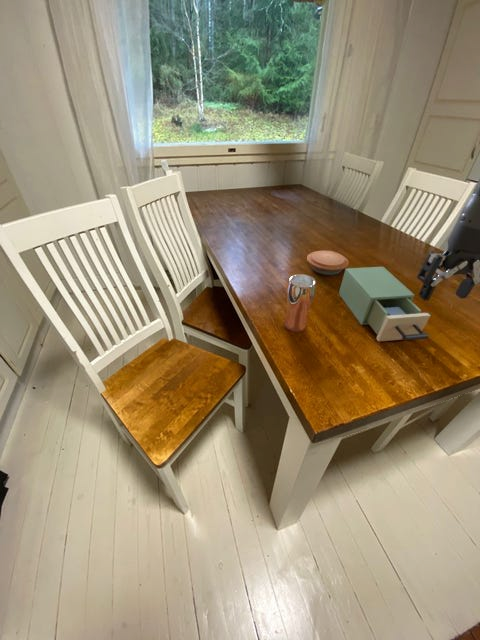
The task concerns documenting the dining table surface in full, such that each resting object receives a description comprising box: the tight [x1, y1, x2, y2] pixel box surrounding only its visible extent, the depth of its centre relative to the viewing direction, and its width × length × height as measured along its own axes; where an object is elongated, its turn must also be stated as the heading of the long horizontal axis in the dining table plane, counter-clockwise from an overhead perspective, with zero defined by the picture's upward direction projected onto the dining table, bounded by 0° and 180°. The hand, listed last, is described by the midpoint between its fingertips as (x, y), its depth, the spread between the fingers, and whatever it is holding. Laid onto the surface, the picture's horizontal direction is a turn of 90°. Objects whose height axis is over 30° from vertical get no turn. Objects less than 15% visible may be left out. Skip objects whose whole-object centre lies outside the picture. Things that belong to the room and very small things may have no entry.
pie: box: [306, 250, 349, 276], centre depth 105 cm, size 15×16×5 cm
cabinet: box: [338, 266, 415, 326], centre depth 83 cm, size 17×13×10 cm
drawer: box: [366, 298, 431, 342], centre depth 75 cm, size 20×11×8 cm, turn 7°
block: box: [384, 307, 406, 316], centre depth 75 cm, size 5×5×5 cm
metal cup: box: [284, 273, 317, 333], centre depth 74 cm, size 7×7×15 cm
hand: (441, 297), depth 59 cm, fingers open, 8 cm apart
